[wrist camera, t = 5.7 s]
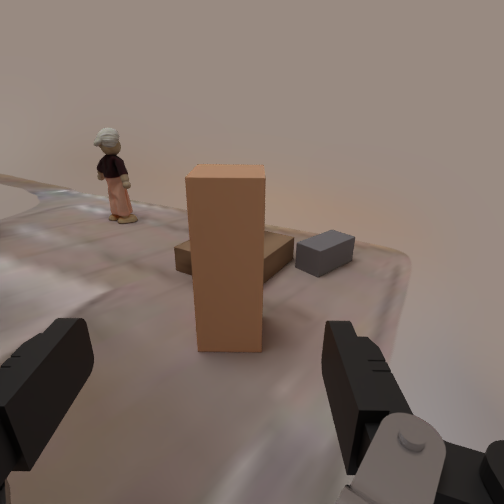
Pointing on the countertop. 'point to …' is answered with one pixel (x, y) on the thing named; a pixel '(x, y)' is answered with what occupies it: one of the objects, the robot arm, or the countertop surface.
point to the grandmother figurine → (114, 176)
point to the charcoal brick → (324, 252)
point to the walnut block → (275, 254)
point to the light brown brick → (227, 255)
